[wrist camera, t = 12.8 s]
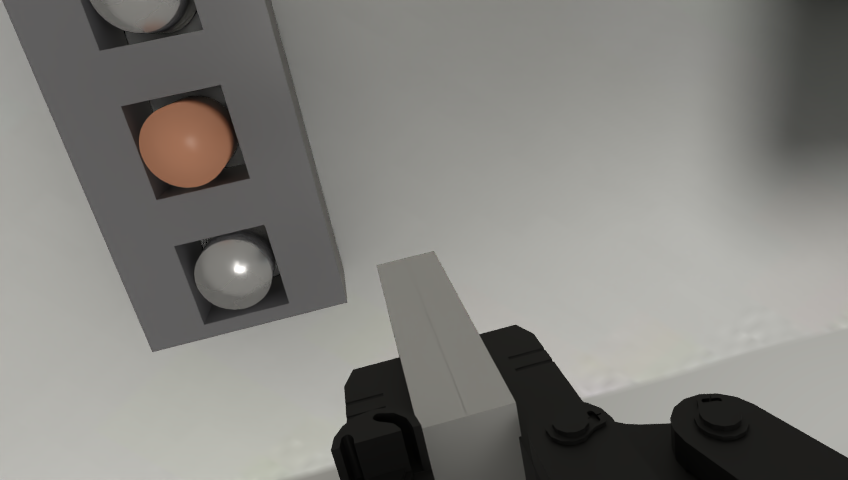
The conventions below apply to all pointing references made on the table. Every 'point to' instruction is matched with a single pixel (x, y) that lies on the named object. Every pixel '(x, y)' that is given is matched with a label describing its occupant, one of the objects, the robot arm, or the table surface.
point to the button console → (178, 206)
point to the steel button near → (146, 14)
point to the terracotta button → (188, 141)
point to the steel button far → (236, 268)
